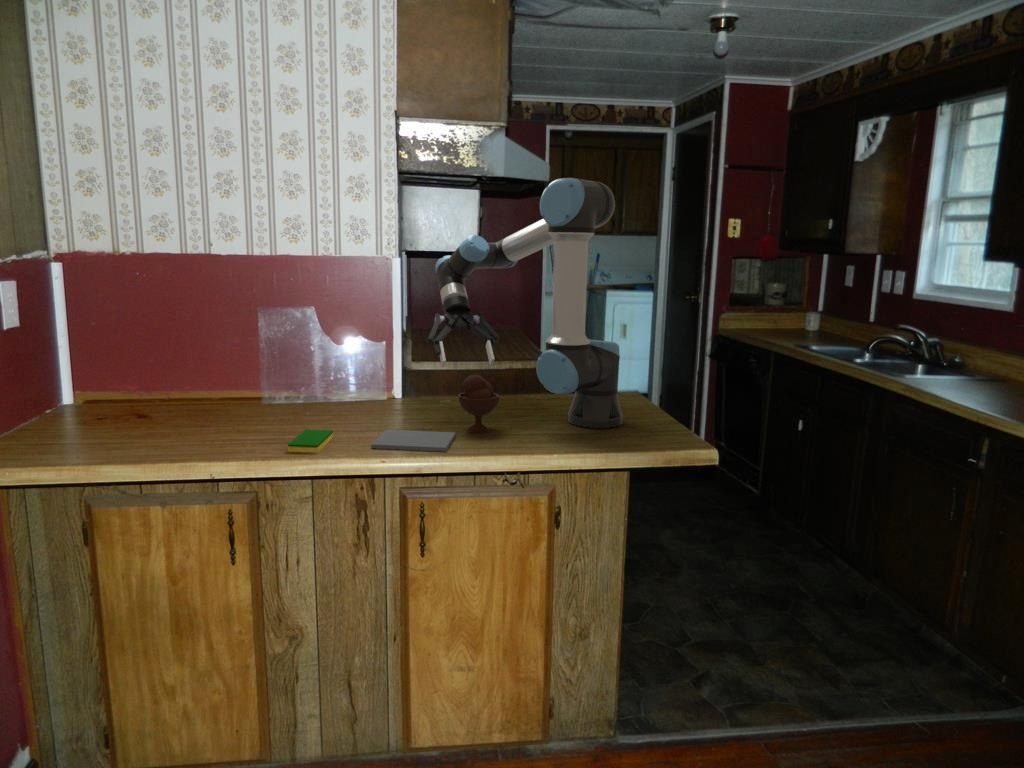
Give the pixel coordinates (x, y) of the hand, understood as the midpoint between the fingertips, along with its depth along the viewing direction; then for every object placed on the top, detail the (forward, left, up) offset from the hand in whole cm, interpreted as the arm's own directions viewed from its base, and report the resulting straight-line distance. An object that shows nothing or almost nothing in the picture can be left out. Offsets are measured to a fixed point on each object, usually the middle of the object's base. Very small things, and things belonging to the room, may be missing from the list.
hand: (468, 362), depth 203 cm
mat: (+10, +24, -16) cm, 30 cm away
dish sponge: (+34, +29, -17) cm, 48 cm away
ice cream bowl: (-4, +10, -16) cm, 19 cm away
